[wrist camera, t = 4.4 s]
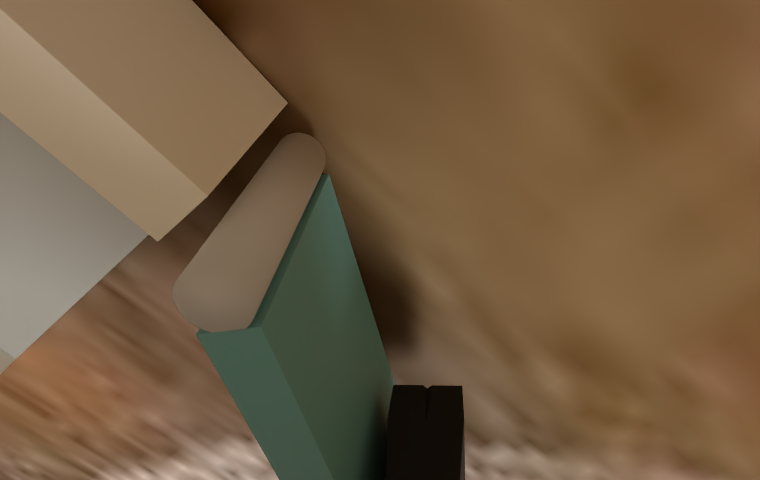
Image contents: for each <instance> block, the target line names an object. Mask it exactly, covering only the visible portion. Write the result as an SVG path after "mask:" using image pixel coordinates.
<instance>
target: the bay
mask: <svg viewBox="0 0 760 480" xmlns="http://www.w3.org/2000/svg"><path fill="white" fill-rule="evenodd" d="M287 104H288V102H287V101H286V100H285V99H284V98H283V97H282V96H281V95H280V94H279V93H278V92H277V90H276V89H275V88H274V87H273V86H272V85H271V84H270V83H269V82H268V81H267V80H266V79H265V78H264V77H263V76H262V74H261V73H260V72H259V71H258V70H257V69H256V68H255V67H254V66H253V65H252V64H251V63H250V62H249V61H248V59H247V58H246V57H245V56H244V55H243V54H242V53H241V52H240V51H239V50H238V49H237V48H236V47H235V46H234V44H233V43H232V42H231V41H230V40H229V39H228V38H227V37H226V36H225V35H224V34H223V33H222V32H221V31H220V29H219V28H218V27H217V26H216V25H215V24H214V23H213V22H212V21H211V20H210V19H209V18H208V17H207V16H206V14H205V13H204V12H203V11H202V10H201V9H200V8H199V7H198V6H197V5H196V4H195V3H194V2H193V1H192V0H0V375H1V374H2V373H3V372H4V370H5V369H6V368H7V367H8V366H9V365H10V364H11V363H12V362H13V361H14V360H15V359H16V358H17V357H18V356H19V355H21V354H22V353H23V352H24V351H25V350H26V349H27V348H28V347H29V346H30V345H31V344H32V343H33V342H34V341H36V340H37V339H38V338H39V337H40V336H41V335H42V334H43V333H44V332H45V331H46V330H47V329H48V328H49V327H50V326H52V325H53V324H54V323H55V322H56V321H57V320H58V319H59V318H60V317H61V316H62V315H63V314H64V313H65V312H67V311H68V310H69V309H70V308H71V307H72V306H73V305H74V304H75V303H76V302H77V301H78V300H79V299H80V298H81V297H83V296H84V295H85V294H86V293H87V292H88V291H89V290H90V289H91V288H92V287H93V286H94V285H95V284H96V283H98V282H99V281H100V280H101V279H102V278H103V277H104V276H105V275H106V274H107V273H108V272H109V271H110V270H111V269H112V268H114V267H115V266H116V265H117V264H118V263H119V262H120V261H121V260H122V259H123V258H124V257H125V256H126V255H127V254H129V253H130V252H131V251H132V250H133V249H134V248H135V247H136V246H137V245H138V244H139V243H140V242H141V241H142V240H143V239H145V238H146V237H147V236H148V235H150V236H151V237H152V238H154V239H155V240H156V241H157V242H158V241H159V240H160V239H161V238H163V237H164V236H165V235H166V234H167V233H168V232H169V231H170V230H171V229H172V228H174V227H175V226H176V225H177V224H178V223H179V222H180V221H181V220H182V219H183V218H185V217H186V216H187V215H188V214H189V213H190V212H191V211H192V210H193V209H194V208H196V207H197V206H198V205H199V204H200V203H201V202H202V201H203V200H204V199H205V198H206V197H208V195H209V194H210V193H211V192H212V191H213V190H214V189H215V187H216V186H217V185H218V184H219V183H220V182H221V180H222V179H223V178H224V177H225V176H226V175H227V173H228V172H229V171H230V170H231V169H232V168H233V166H234V165H235V164H236V163H237V162H238V161H239V159H240V158H241V157H242V156H243V155H244V154H245V152H246V151H247V150H248V149H249V148H250V147H251V145H252V144H253V143H254V142H255V141H256V140H257V138H258V137H259V136H260V135H261V134H262V133H263V131H264V130H265V129H266V128H267V127H268V126H269V124H270V123H271V122H272V121H273V120H274V119H275V117H276V116H277V115H278V114H279V113H280V112H281V110H282V109H283V108H284V107H285V106H286V105H287Z"/></svg>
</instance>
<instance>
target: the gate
mask: <svg viewBox="0 0 760 480" xmlns="http://www.w3.org/2000/svg"><path fill="white" fill-rule="evenodd" d="M325 165H326V154H325V151H324V149H323V147H322V145H321V144H320V143H319V142H318V141H317V140H316V139H315V138H314V137H312V136H310V135H308V134H305V133H291V134H289V135H286V136H285V137H283V138H282V139H281V140H280V142H279V143H278V144H277V146H276V147H275V148H274V150H273V151H272V152H271V154H270V155H269V157H268V158H267V159H266V161H265V162H264V163H263V165H262V166H261V167H260V169H259V170H258V171H257V173H256V174H255V175H254V177H253V178H252V179H251V181H250V182H249V183H248V185H247V186H246V188H245V189H244V190H243V192H242V193H241V194H240V196H239V197H238V198H237V200H236V201H235V202H234V204H233V205H232V206H231V208H230V209H229V210H228V212H227V213H226V214H225V216H224V217H223V219H222V220H221V221H220V223H219V224H218V225H217V227H216V228H215V229H214V231H213V232H212V233H211V235H210V236H209V237H208V239H207V240H206V241H205V243H204V244H203V245H202V247H201V248H200V249H199V251H198V252H197V254H196V255H195V256H194V258H193V259H192V260H191V262H190V263H189V264H188V266H187V267H186V268H185V270H184V271H183V272H182V274H181V275H180V276H179V278H178V279H177V281H176V282H175V284H174V287H173V300H174V303H175V305H176V307H177V309H178V311H179V312H180V313H181V314H182V316H183V317H184V318H185V319H186V320H188V321H189V322H190V323H192V324H193V325H195V326H196V327H198V328H200V329H199V331H198V332H197V334H196V335H197V337H198V338H199V340H200V342H201V344H202V345H203V347H204V349H205V351H206V352H207V354H208V356H209V358H210V359H211V361H212V363H213V365H214V366H215V368H216V370H217V371H218V373H219V375H220V377H221V378H222V380H223V382H224V384H225V385H226V387H227V389H228V391H229V392H230V394H231V396H232V398H233V399H234V401H235V403H236V405H237V406H238V408H239V410H240V412H241V413H242V415H243V417H244V419H245V420H246V422H247V424H248V426H249V427H250V429H251V431H252V433H253V434H254V436H255V438H256V440H257V441H258V443H259V445H260V447H261V448H262V450H263V452H264V454H265V455H266V457H267V459H268V461H269V462H270V464H271V466H272V468H273V469H274V471H275V473H276V475H277V476H278V478H279V480H386V460H387V419H388V412H389V406H390V400H391V395H392V389H393V385H395V382H394V379H393V376H392V373H391V370H390V367H389V363H388V360H387V357H386V354H385V351H384V347H383V344H382V341H381V338H380V335H379V332H378V328H377V325H376V322H375V319H374V316H373V312H372V309H371V306H370V303H369V300H368V296H367V293H366V290H365V287H364V284H363V281H362V277H361V274H360V271H359V268H358V265H357V261H356V258H355V255H354V252H353V249H352V246H351V242H350V239H349V236H348V233H347V230H346V226H345V223H344V220H343V217H342V214H341V210H340V207H339V204H338V201H337V198H336V195H335V191H334V188H333V185H332V182H331V179H330V175H329V174H325V175H321V174H322V172H323V170H324V168H325Z"/></svg>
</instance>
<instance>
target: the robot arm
mask: <svg viewBox="0 0 760 480" xmlns="http://www.w3.org/2000/svg"><path fill="white" fill-rule="evenodd" d="M386 480H465V452H464V410H463V393H462V386H431V387H429V388H428V389H427V388H426V387H424V386H423V385H393V389H392V395H391V400H390V406H389V412H388V419H387V460H386Z"/></svg>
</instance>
